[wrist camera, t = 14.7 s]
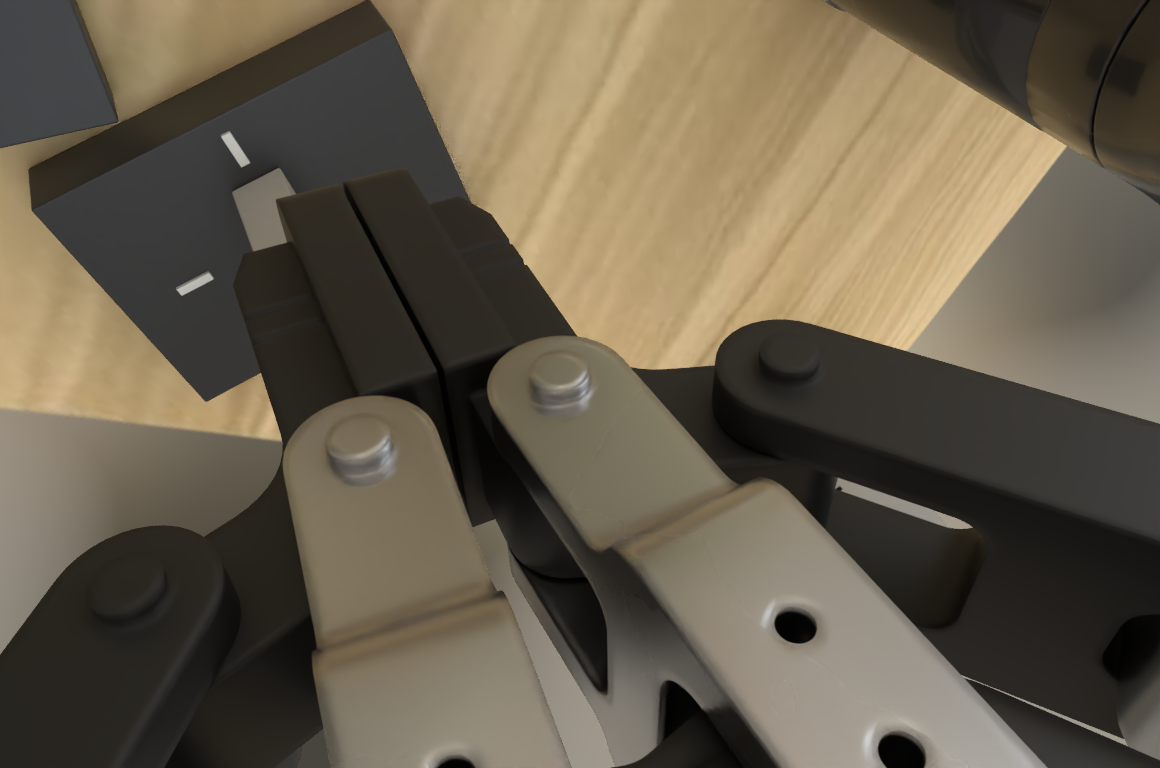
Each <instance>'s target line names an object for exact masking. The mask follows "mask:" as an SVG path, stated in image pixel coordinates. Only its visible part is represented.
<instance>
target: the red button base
mask: <svg viewBox="0 0 1160 768" xmlns="http://www.w3.org/2000/svg"><path fill="white" fill-rule="evenodd" d="M117 122H118V116H117V112H116V107H115V103H114V99H113V94H112V92H111V89H110V87H109V84H108V82H107V79H106V77H105V74H104V71H103V69H102V66H101V64H100V61H99V59H98V56H97V53H96V51H95V48H94V46H93V43H92V41H91V38H90V35H89V33H88V30H87V28H86V25H85V23H84V20H83V18H82V15H81V12H80V10H79V7H78V5H77V2H76V0H0V148H3V147H8V146H12V145H17V144H21V143H26V142H30V141H35V140H39V139H44V138H49V137H53V136H58V135H62V134H67V133H71V132H76V131H80V130H85V129H89V128H94V127H99V126H103V125H108V124H112V123H117Z"/></svg>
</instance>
